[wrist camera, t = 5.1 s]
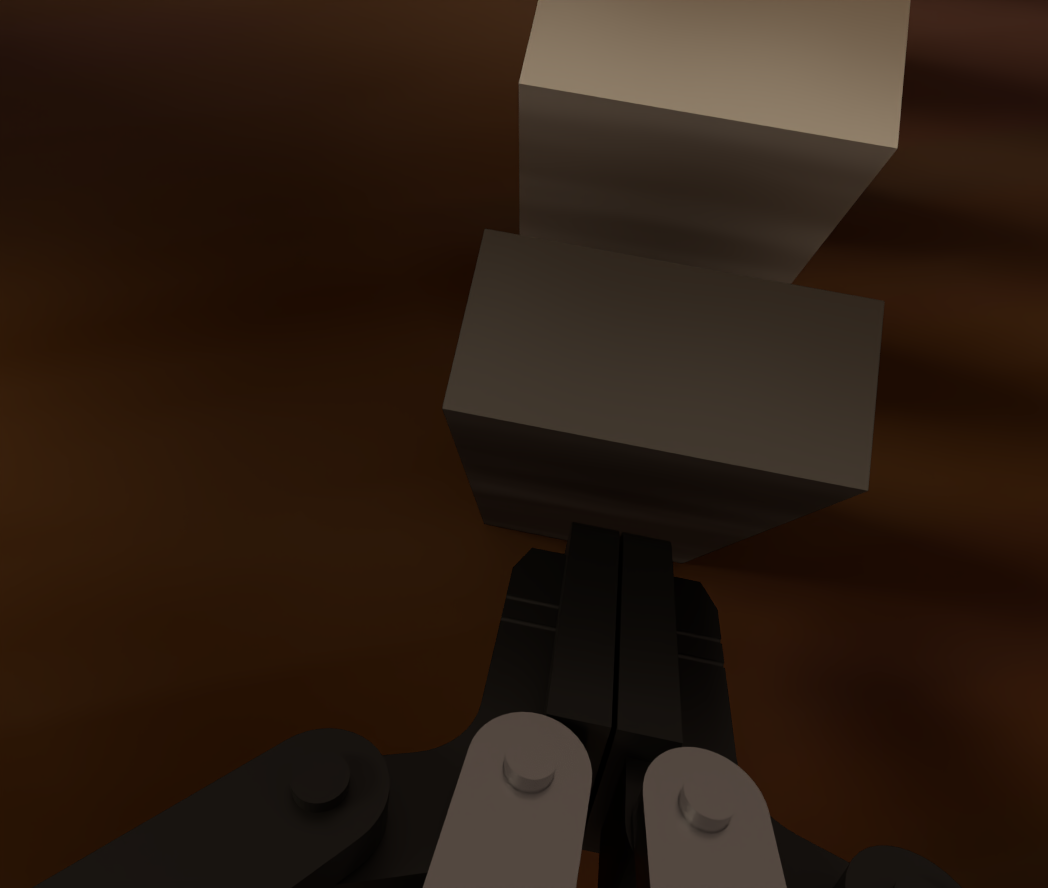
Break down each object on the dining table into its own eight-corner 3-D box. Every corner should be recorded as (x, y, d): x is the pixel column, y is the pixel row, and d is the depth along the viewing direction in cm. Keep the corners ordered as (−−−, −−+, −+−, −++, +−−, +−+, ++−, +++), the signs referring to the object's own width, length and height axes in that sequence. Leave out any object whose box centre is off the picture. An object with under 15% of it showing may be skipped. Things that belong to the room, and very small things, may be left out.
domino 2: (682, 563, 18) (868, 491, 8) (484, 523, 18) (442, 408, 9) (695, 470, 19) (884, 300, 9) (503, 432, 19) (484, 228, 9)
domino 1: (707, 389, 19) (897, 148, 9) (520, 354, 19) (519, 83, 10) (719, 306, 20) (910, -2, 10) (537, 273, 20) (551, -61, 10)
